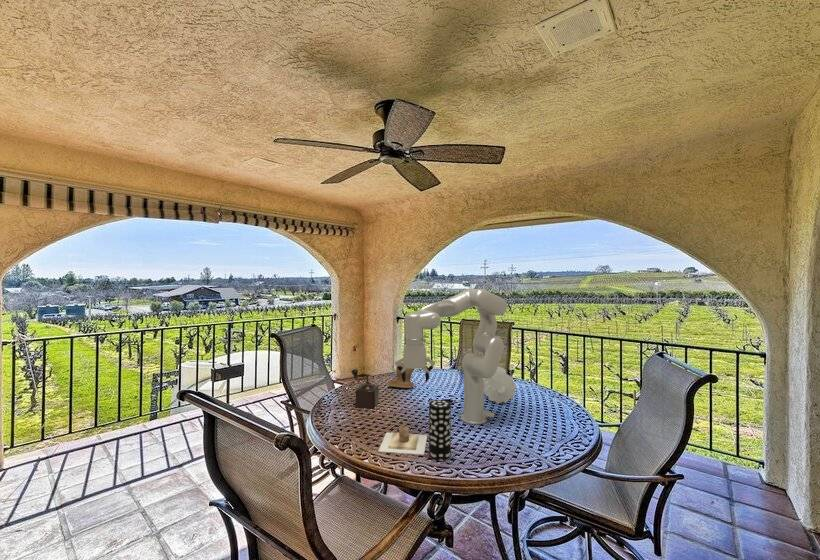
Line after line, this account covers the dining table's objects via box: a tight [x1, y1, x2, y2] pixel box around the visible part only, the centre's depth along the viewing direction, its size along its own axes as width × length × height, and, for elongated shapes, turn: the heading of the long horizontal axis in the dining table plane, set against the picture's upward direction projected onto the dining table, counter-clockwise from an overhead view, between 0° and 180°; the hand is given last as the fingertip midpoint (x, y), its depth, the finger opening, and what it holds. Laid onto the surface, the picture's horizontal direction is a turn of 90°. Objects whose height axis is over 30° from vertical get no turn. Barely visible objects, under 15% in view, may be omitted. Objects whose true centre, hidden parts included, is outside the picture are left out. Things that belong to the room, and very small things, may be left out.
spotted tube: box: [428, 399, 452, 462], centre depth 130 cm, size 8×8×20 cm
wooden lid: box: [388, 425, 420, 450], centre depth 139 cm, size 11×11×6 cm
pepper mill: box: [351, 368, 380, 410], centre depth 182 cm, size 16×11×18 cm
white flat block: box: [377, 432, 428, 456], centre depth 139 cm, size 18×16×1 cm
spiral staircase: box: [483, 365, 517, 405], centre depth 192 cm, size 18×18×25 cm
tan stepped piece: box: [387, 362, 414, 389], centre depth 211 cm, size 15×12×15 cm
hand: (415, 381), depth 146 cm, fingers open, 9 cm apart
